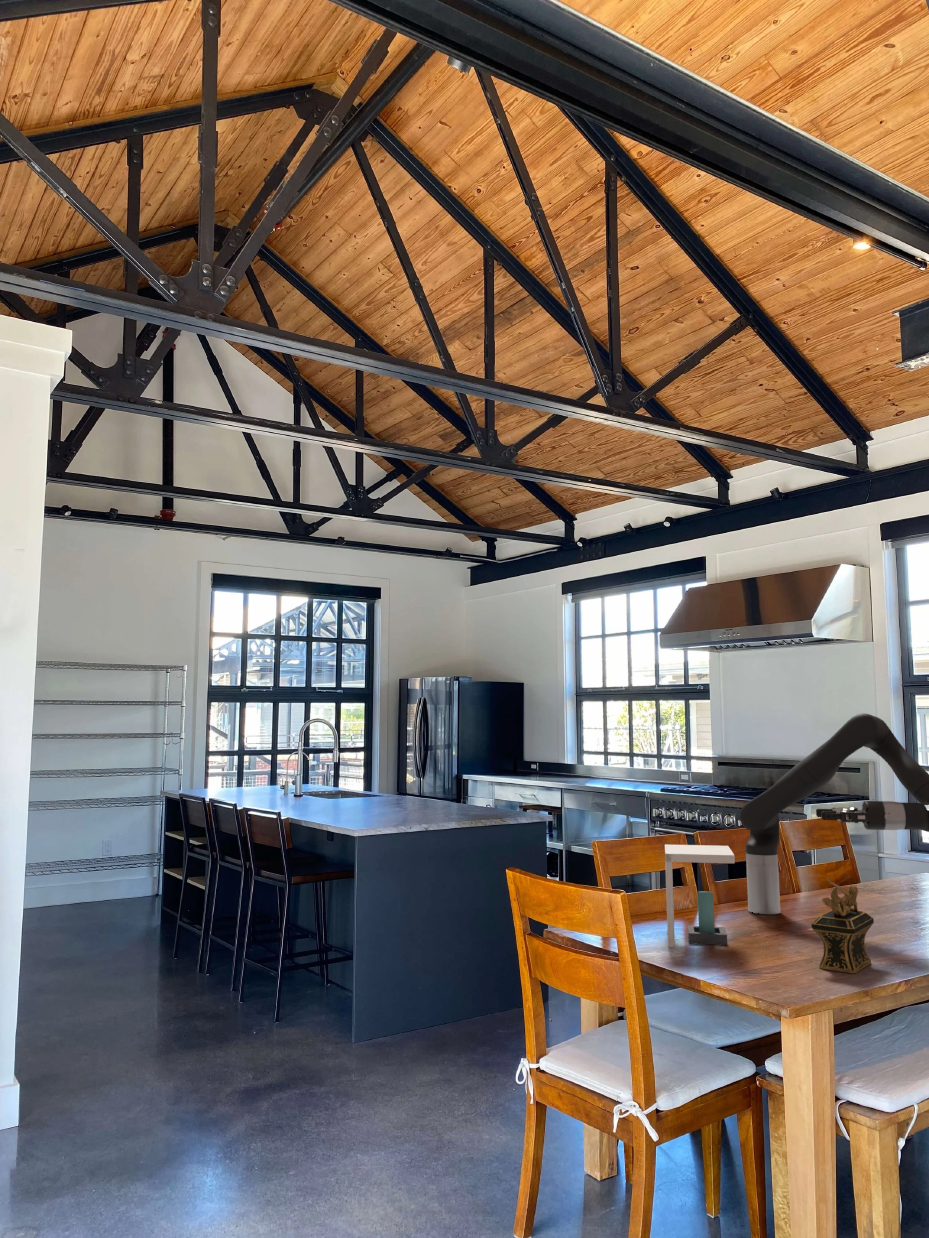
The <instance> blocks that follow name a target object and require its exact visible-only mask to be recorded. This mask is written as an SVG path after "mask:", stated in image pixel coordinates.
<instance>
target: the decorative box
mask: <svg viewBox="0 0 929 1238" xmlns="http://www.w3.org/2000/svg"><path fill="white" fill-rule="evenodd" d="M826 877H827V878H826V879H827V882H828V883H829V884H830V885H832V886H833V887H834V888H833V889H832V891H831V893H830V898H829V897H827V896H826V897H822V898H821V901H822V904H824V905H825V906H826V907H828V908H830V910H829V911H827V912H825V913H823V914H820V915H818V916H817V917H816V918H815V920H813V921H812V922H811V923H810V924H811V925H810V926H811V929H812V930H813V931H814V932H815V933H816V935H818V936H819V938H820V940H821V941H822V944H823V955H822V957H821V959H820V963H819V965H818V968H820V969H822V970H825V969H826V971H831V970H832V971H831V972H837V971H838V972H837V973H844V974H849V975H850V974H852V975H853V974H857V973H858V972H860V971H861V970H863V969H864V968H867V966H869V965H870V964H872V960H871V959H870V956H869V955H868V953H867V951H866V946H865V940H866V939H865V938H866V936H867V933H868V931H869V930H870V928H871V927H872V926H873V925H874V922H875V920H874V919H875V918H874V917H873V916H871V915H869V914H868V913H867V912H865V911H862V910H858V902H857V896H858V893H859V888H858V887H857V886H855V885H849V887H848V889H847V891H846V890H845V889H843V887H841V886H840V885H839V884H836V883H834V882H832V881H831V879H830V877H829V876H828V875H827V876H826ZM838 890H839V891H840V892H841V893H842V894H843V895H844V896H840V895H838Z"/></svg>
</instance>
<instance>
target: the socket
mask: <svg viewBox="0 0 929 1238" xmlns="http://www.w3.org/2000/svg"><path fill="white" fill-rule="evenodd" d="M687 939H689V940H688V944H694V943H697V944H699V945H716V944H721V945H722V946H728V934H727V931H726V928H725V927H724V926H715V933H701V932H699V925H687ZM700 943H702V944H700ZM697 944H696V945H697ZM721 945H720V946H721Z"/></svg>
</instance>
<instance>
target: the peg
mask: <svg viewBox="0 0 929 1238" xmlns="http://www.w3.org/2000/svg"><path fill="white" fill-rule="evenodd" d="M696 893H697V894H696V897H697V913H698V914H697V915H698V916H697V917H698V926H699V932H701V933H715V927H716V925H715V908H714V893H713V892H712V891H707V890H706V891H705V890H704V891H700V890H699V891H697V892H696Z"/></svg>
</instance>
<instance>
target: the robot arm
mask: <svg viewBox="0 0 929 1238" xmlns="http://www.w3.org/2000/svg"><path fill="white" fill-rule="evenodd" d="M862 748H867V749H870V750H872V751H873V752H874V753H875V754H877V755H878V756H879V757H880V758H881V759H883V760H884V761H885V762H886V763H887V765H888V766H889V767H890V768H891V770H892V771H893V773H894V775H895V777H896V778H897V780H898V781H899V783H900V784H901V785H902V786H903V787H904V788H905V789H906V791H908V793H910V795H911V796H912V797H913V798H914V799H915V800H916V801H917V802H902V801H900V802H899V801H891V800H890V801H889V800H885V801H884V800H864V801H862V806H861V809H859V808H858V807H855V806H849V807H846V806H845V807H844V806H842V807H841V806H840V807H832V808H816V809H815V816H816V818H821V820H823V821H838V822H839V823H840V822H842V823H851V824H859V823H862V824H863V827H864V828H865V830H868V831H869V830H870V831H873V830H874V831H899V830H902V831H903V830H904V831H905V830H907V831H908V830H909V831H913V830H915V831H917V830H919V831H924V832H927V833H929V810H928V809H927V807H926V806H929V773H928V771H926V770H925V768H923V767H922V766H921V765H920V764H919V763H918V762H917V761H916V760H915V759H914V758H913V757H912V755H910V753H909V752H908V751H907V750H906V749H905V748H904V746H903V745H902V744H901V743H900V741H899V740H898V739H897V737H896V736H895V734H894V733H893V732H892V730H891V729H890V727H889V726H888V725H887V723H886V722H885V721H884V720H883V719H882V718H880V717H877V716H875V715H872V714H870V713H857V714H855V715H854V716H851V718H849V719H848V720H847V721H846V722H845V723H844V724H843V725H842V726H840V728H839V729H838V730H837V731H836V732H835V733H834V734H833V735H832V736H831V737H830V738H829V739H828V740H826V741H825V742H824V743H822V744H821V745H820V746H818V747H817V748H816V749H814V751H813V752H811V753H810V754H809V755H807V756H805V757H804V758H803V759H801V760H800V761H799V762H798V763H796V764H795V765H794V766H793V767H792V768H791V769H790V770H789V771H787V772H786V773H785V774H784V775H783V776H782V777H780V778H779V779H778V780H777V781H776V782H775V783H774V784H773V785H772V786H771V787H769V788H768V789H766V790H765V791H764V792H762V793H761V794H759V795H757V796H756V797H754V798H753V799H751V800H749V801H748V802H746V803H745V804H744V805H743V806H742V808H741V810H740V813H739V820H740V824H741V826H743V827H744V828H745V829H747V830H748V831H749V838H748V840H747V842H746V843H745V862H746V864H745V865H746V879H747V880H746V883H747V884H746V886H747V889H746V890H747V910H748V912H749V913H752V912H753V914H758V913H759V915H777V914H781V898H780V897H781V895H780V879H779V878H780V877H779V876H780V875H779V859H778V857H779V856H778V847H779V844H780V816H779V814H781V812H783V811H785V809H787V808H788V807H790V806H792V805H795V804H796V803H799V802H800V801H802V800H804V799H806V798H808V797H809V796H811V795H813V794H814V793H816V792H818V790H820V789H822V787H824V786H825V785H826V784H828V783H829V782H830V781H831V780H832V779H833V778H834V776H835V775H836V773H837V771H838V770H839V768H840V766H841V765H842V763H843V762H844V761H845V760H846V759H847V758H848V757H850V756H851V755H852V754H854V753H855V752H857V751H858V750H860V749H862Z"/></svg>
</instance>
